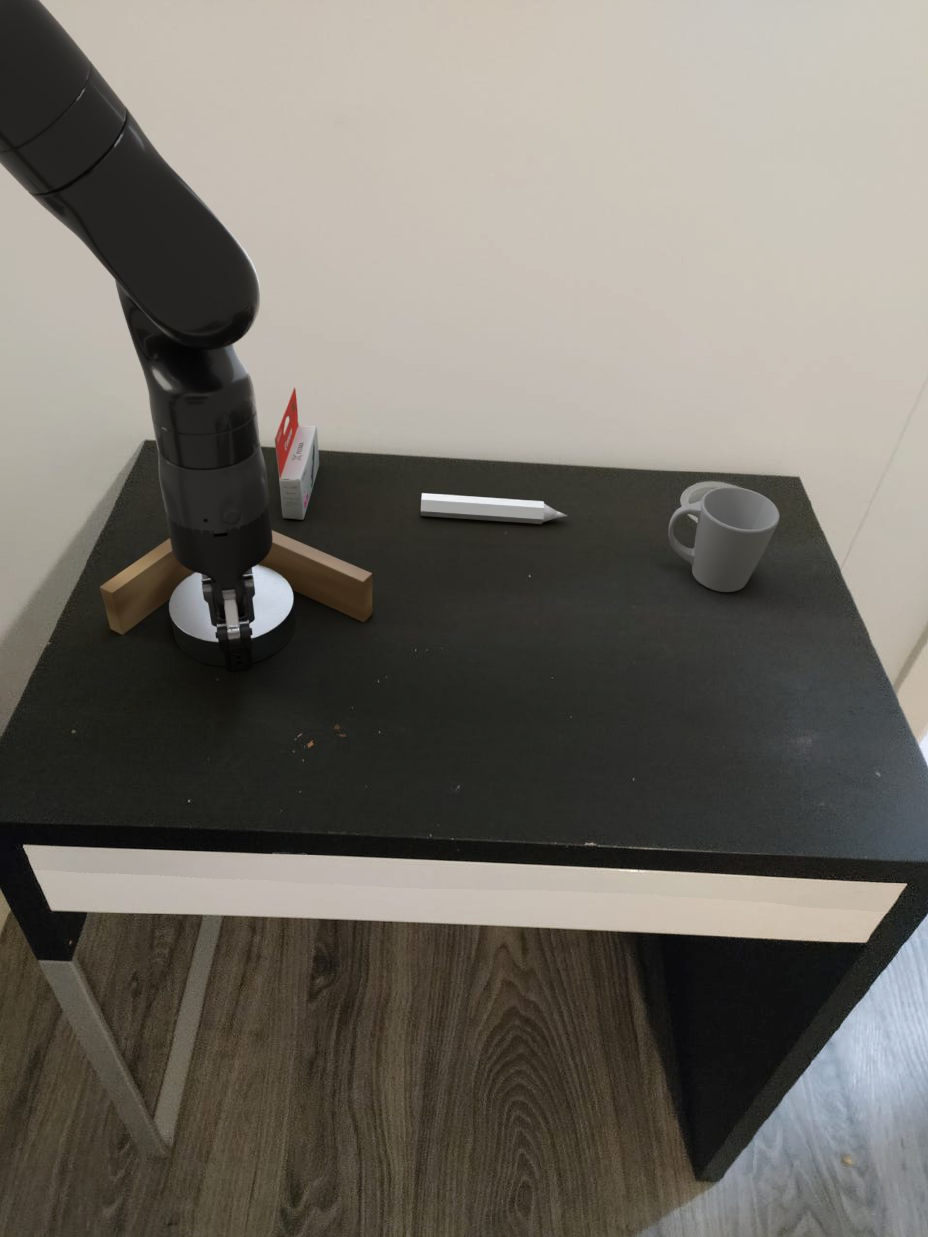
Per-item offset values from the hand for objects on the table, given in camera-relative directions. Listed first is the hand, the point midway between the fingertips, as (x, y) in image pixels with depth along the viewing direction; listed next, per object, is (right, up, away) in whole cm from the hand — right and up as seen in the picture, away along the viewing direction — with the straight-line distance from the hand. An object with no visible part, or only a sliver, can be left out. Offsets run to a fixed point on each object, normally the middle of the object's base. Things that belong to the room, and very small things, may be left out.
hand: (239, 665), depth 80 cm
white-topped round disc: (-2, +3, +6) cm, 7 cm away
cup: (+44, +9, +17) cm, 48 cm away
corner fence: (-1, +4, +7) cm, 8 cm away
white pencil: (+23, +15, +22) cm, 35 cm away
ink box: (+1, +18, +23) cm, 29 cm away
